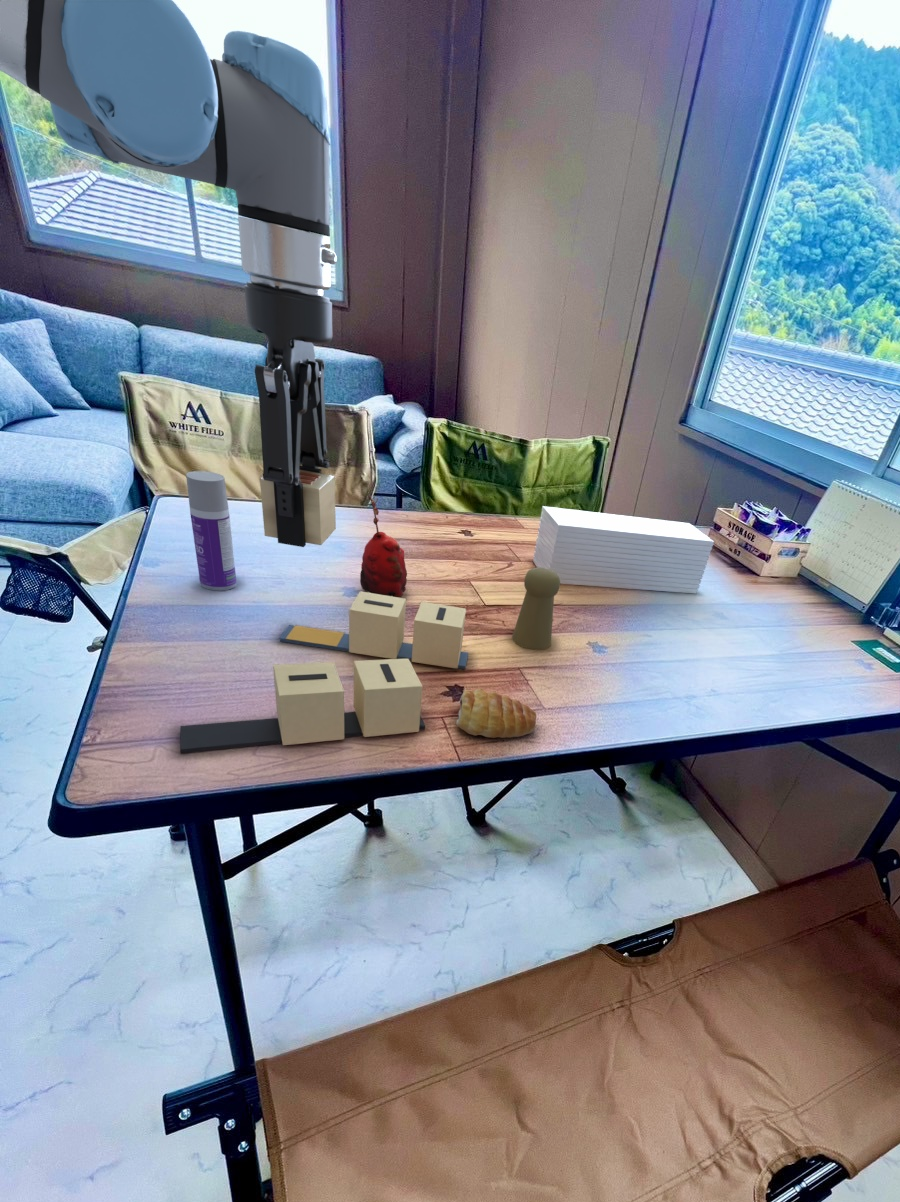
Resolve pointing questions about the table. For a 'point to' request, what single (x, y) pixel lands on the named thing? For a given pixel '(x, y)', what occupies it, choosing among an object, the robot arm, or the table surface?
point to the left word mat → (323, 708)
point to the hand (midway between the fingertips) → (301, 534)
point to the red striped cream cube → (305, 506)
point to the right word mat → (393, 632)
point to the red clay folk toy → (383, 564)
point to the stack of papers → (621, 551)
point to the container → (211, 530)
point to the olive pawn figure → (537, 609)
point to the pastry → (494, 715)
